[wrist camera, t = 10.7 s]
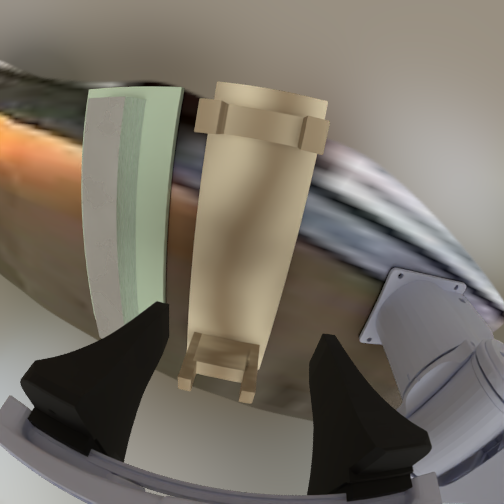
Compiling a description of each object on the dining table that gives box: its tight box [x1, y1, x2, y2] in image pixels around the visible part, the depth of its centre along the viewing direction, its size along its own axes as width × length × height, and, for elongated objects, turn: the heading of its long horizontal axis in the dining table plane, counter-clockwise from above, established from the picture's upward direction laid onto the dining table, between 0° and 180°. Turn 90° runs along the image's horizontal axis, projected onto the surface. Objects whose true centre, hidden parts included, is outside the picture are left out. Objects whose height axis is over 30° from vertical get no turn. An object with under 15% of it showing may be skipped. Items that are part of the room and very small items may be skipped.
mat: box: [82, 87, 185, 319], centre depth 20 cm, size 8×22×1 cm, turn 170°
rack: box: [178, 82, 330, 404], centre depth 18 cm, size 7×23×6 cm, turn 170°
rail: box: [82, 96, 146, 339], centre depth 19 cm, size 20×3×3 cm, turn 170°
